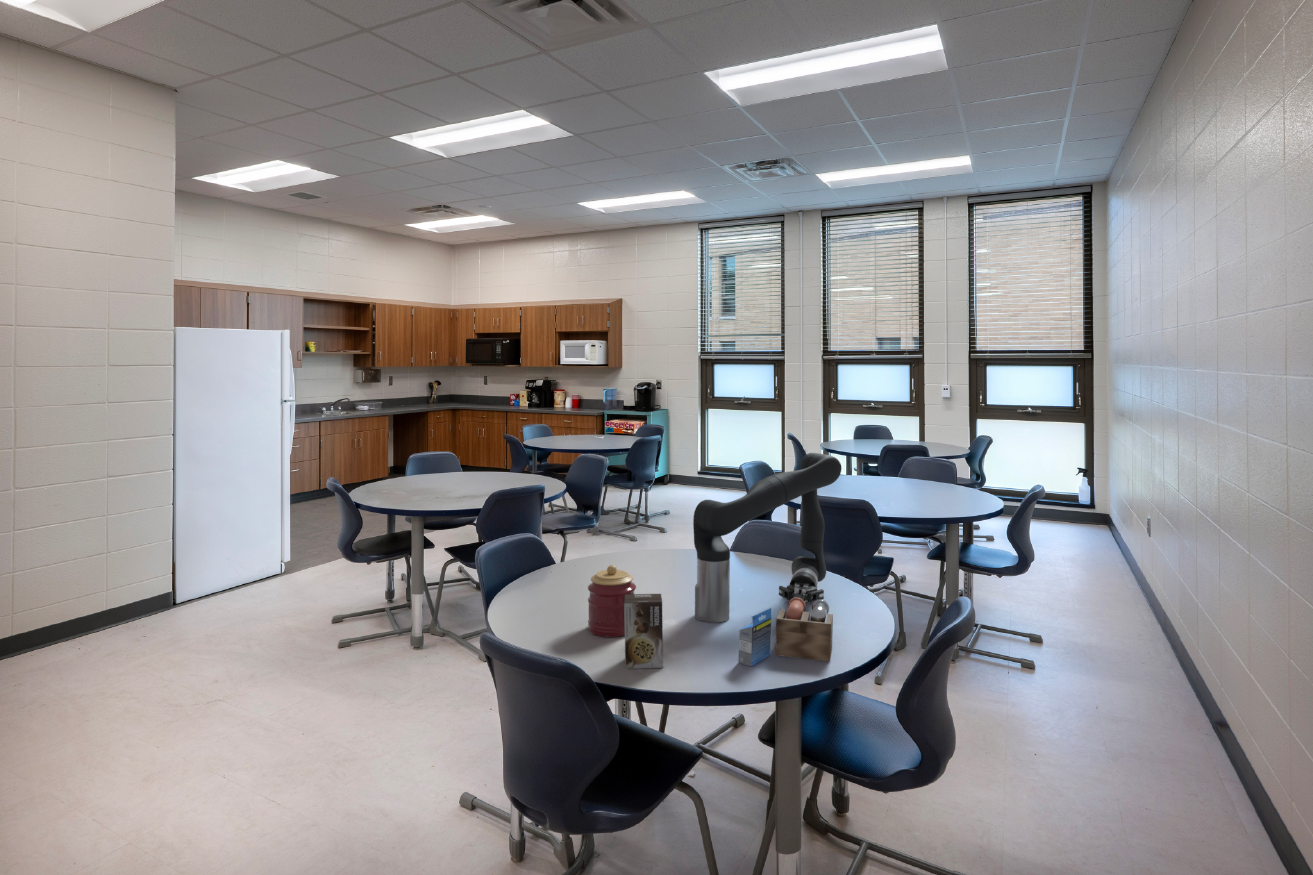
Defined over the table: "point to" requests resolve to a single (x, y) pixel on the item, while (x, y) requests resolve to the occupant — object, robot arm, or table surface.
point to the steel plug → (819, 611)
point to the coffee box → (643, 631)
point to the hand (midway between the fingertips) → (798, 602)
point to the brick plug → (795, 608)
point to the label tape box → (755, 639)
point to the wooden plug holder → (804, 637)
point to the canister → (608, 602)
